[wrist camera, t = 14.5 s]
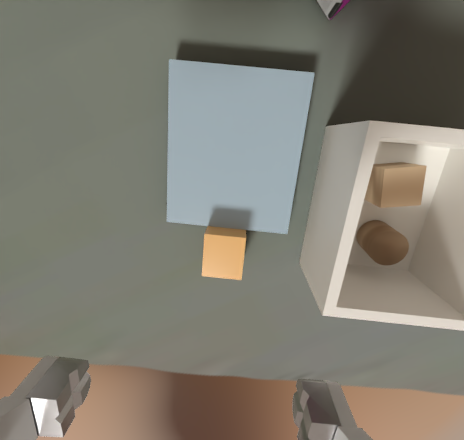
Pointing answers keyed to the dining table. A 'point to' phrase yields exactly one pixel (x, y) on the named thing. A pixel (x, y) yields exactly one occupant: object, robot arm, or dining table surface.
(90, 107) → the dining table surface
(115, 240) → the dining table surface
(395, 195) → the part
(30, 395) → the robot arm
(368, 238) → the part
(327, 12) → the candy bar box
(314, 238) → the tub
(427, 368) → the dining table surface
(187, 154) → the lid
